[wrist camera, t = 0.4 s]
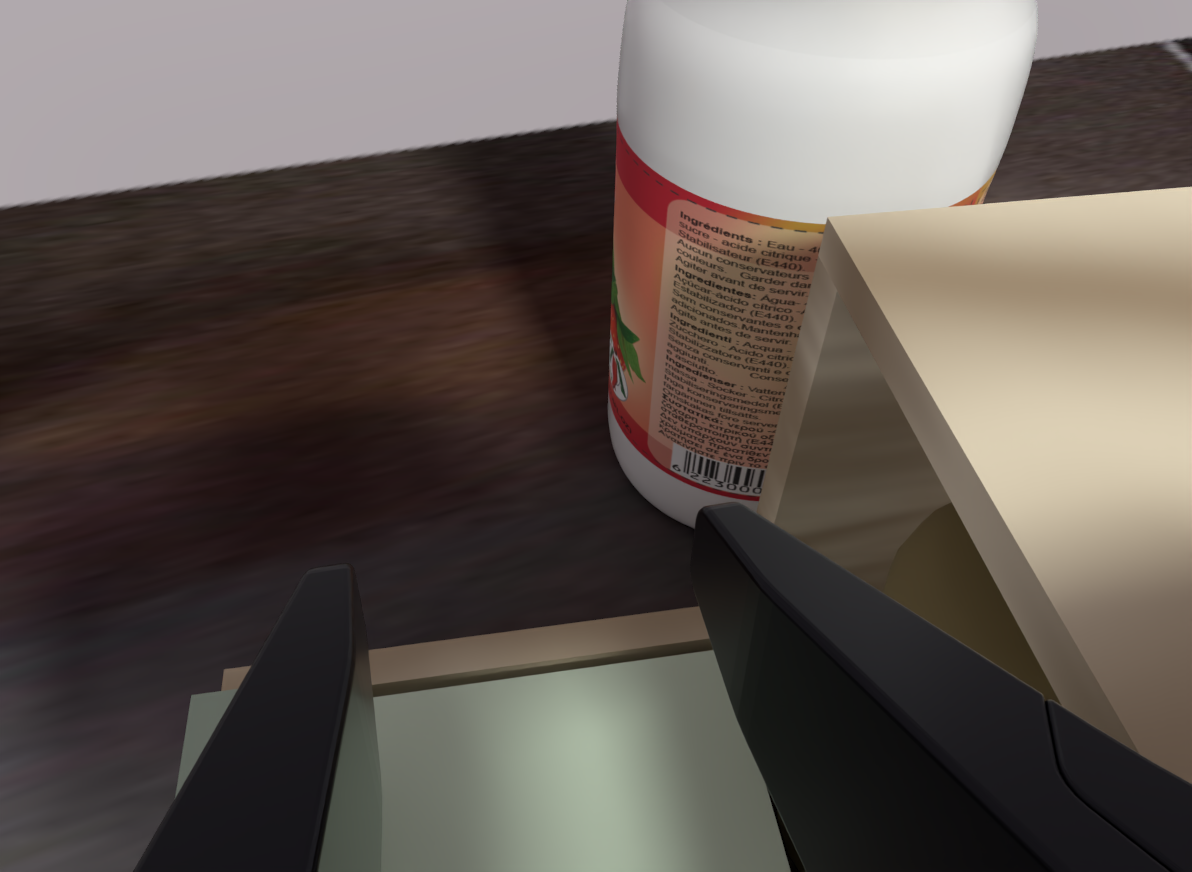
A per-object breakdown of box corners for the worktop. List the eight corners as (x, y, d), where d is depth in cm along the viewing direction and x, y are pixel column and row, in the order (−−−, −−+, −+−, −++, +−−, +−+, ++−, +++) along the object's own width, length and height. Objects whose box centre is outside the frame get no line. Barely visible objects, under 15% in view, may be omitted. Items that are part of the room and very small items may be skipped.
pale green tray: (1161, 962, 20) (1350, 872, 15) (252, 1137, 18) (126, 1098, 13) (996, 640, 25) (1095, 498, 20) (284, 742, 23) (204, 609, 18)
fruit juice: (753, 604, 26) (1375, -1686, 6) (551, 430, 31) (491, -1181, 10) (932, 448, 31) (1657, -1182, 10) (730, 316, 35) (942, -985, 15)
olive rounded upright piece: (1070, 839, 22) (1358, 605, 14) (913, 1011, 20) (1150, 849, 11) (882, 662, 25) (1025, 388, 17) (726, 790, 23) (808, 540, 15)
